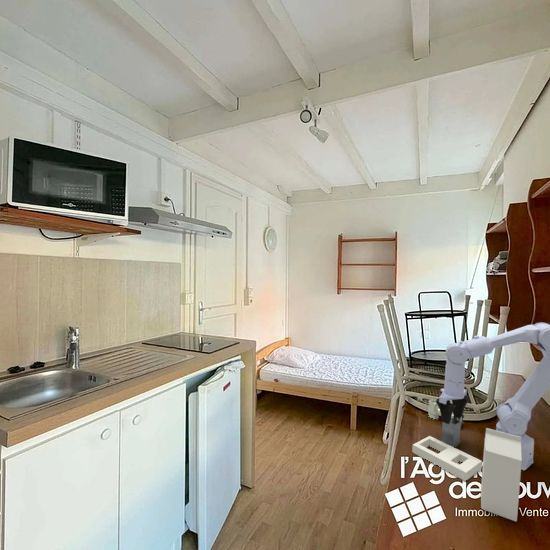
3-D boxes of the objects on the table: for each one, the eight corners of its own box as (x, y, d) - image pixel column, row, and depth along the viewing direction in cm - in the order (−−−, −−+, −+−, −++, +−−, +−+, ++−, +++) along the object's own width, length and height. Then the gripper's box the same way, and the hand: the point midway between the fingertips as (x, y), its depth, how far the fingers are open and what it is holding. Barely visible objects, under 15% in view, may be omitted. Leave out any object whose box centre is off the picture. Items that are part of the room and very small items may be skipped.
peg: (459, 444, 108) (460, 421, 108) (453, 448, 106) (454, 424, 106) (447, 439, 112) (448, 416, 111) (441, 442, 109) (442, 419, 109)
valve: (424, 418, 127) (458, 430, 118) (425, 401, 126) (459, 412, 118) (430, 413, 131) (463, 424, 123) (431, 397, 131) (465, 407, 122)
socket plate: (481, 469, 96) (481, 460, 96) (465, 481, 90) (465, 472, 90) (429, 443, 109) (429, 435, 109) (412, 452, 103) (412, 444, 103)
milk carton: (516, 522, 76) (523, 444, 75) (481, 509, 80) (486, 434, 79) (513, 504, 82) (519, 430, 81) (480, 492, 86) (485, 422, 85)
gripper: (452, 372, 115) (450, 409, 116) (431, 379, 107) (428, 420, 108) (474, 379, 110) (471, 418, 110) (453, 387, 101) (450, 429, 102)
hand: (451, 419), depth 109 cm, fingers open, 7 cm apart
